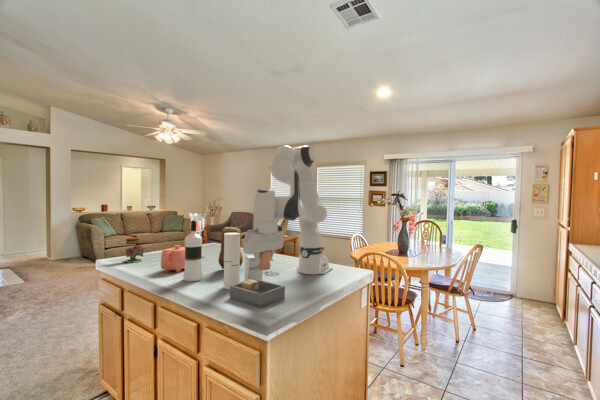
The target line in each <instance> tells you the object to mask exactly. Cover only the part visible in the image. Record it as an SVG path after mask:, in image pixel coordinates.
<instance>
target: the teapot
mask: <svg viewBox="0 0 600 400" xmlns="http://www.w3.org/2000/svg"><path fill="white" fill-rule="evenodd" d="M160 258H161V259H160V268H161V270H165V271H166V272H171V271H175V273H182V270H185V246H181V245H180V244H176V245H175V244H174V247H169V248H165V249H162V252H161V257H160ZM165 271H164V272H165Z"/></svg>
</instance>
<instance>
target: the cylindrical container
mask: <svg viewBox="0 0 600 400" xmlns="http://www.w3.org/2000/svg"><path fill="white" fill-rule="evenodd" d="M240 250H241V245H240V233H224V269H223V289H225V290H230V286H231V285H235V284H238V283H240V267H241V266H240Z"/></svg>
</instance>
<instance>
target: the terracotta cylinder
mask: <svg viewBox="0 0 600 400" xmlns="http://www.w3.org/2000/svg"><path fill="white" fill-rule="evenodd" d="M270 255H271V251H264V252H260V255H259V258H260V259H261V263H259V264H258V269H260V270H262V271H267V270H270V269H271V261H270Z"/></svg>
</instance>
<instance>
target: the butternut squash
mask: <svg viewBox="0 0 600 400" xmlns="http://www.w3.org/2000/svg"><path fill="white" fill-rule="evenodd" d="M224 233H240V246H241V245H242V232H241V229H240V228H238V227H234V226H225V227H223V229H221V233H220V235H221V237H220V238H221V240H220V241H221V242H220V252H219V255H218V264H219V265H220V267H221V268H222V269H223V270H224ZM243 262H244V255H243V253H242V250H241V249H240V267H241V266H242V264H243Z"/></svg>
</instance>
